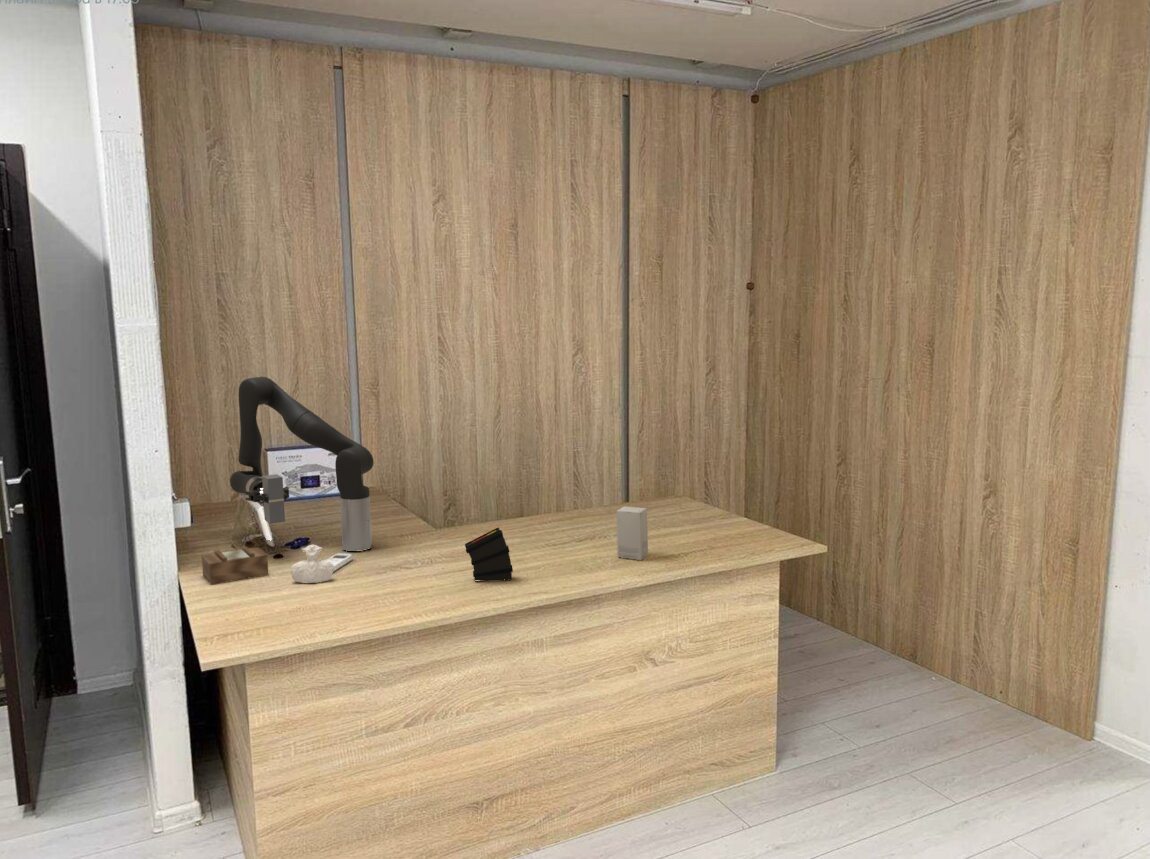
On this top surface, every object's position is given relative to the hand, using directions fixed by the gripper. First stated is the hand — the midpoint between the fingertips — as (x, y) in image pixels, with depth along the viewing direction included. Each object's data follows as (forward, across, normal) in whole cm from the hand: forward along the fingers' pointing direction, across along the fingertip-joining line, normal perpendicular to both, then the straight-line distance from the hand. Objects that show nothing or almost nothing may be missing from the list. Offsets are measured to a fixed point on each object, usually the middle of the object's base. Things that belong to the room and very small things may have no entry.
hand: (276, 498), depth 271 cm
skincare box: (+60, +92, +21) cm, 112 cm away
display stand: (+8, -15, +20) cm, 26 cm away
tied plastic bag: (+26, +2, +20) cm, 33 cm away
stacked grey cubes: (-3, 0, +8) cm, 8 cm away
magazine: (+54, +44, +20) cm, 73 cm away
